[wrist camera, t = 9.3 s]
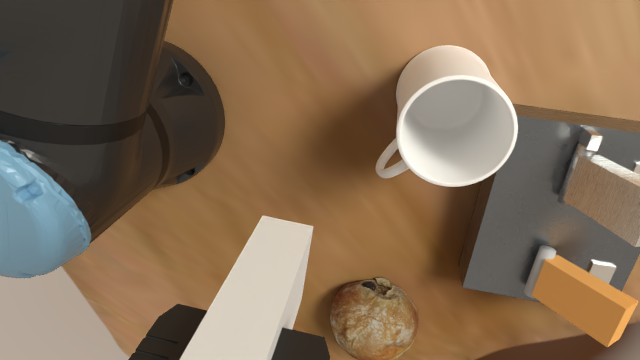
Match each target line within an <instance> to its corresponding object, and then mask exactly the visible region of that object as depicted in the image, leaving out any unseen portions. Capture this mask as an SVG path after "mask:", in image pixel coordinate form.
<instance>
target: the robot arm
mask: <svg viewBox="0 0 640 360" xmlns="http://www.w3.org/2000/svg"><path fill="white" fill-rule="evenodd" d="M172 4H173V0H0V275H1V276H6V277H12V278H31V277H34V276H36V275H44V274H47V273H49V272H52V271H53V270H55V269H57V268H58V267H60V266H61V265H63V264H64V263H66V262H67V261H69V260H71V259H72V258H74V257H75V256H77V255H79V254H81V253H82V252H83V251H85V250H86V249H87V247H89V244H90V243H91V242H92V241H93V240H95V239H96V238H97V237H98V236H99V235H100V234H102V233H103V232H104V231H105V230H106V229H107V228H109V227H110V226H111V225H112V224H113V223H114V222H116V221H117V220H118V219H119V218H120V217H121V216H122V215H124V214H125V213H126V212H127V211H128V210H129V209H131V208H132V207H133V206H134V205H135V204H136V203H138V202H139V201H140V200H141V199H142V198H143V197H144V196H146V195H147V194H148V193H149V192H150V191H151V190H153V189H157V188H162V187H166V186H170V185H175V184H178V183H181V182H184V181H186V180H188V179H190V178H192V177H194V176H195V175H197V174H198V173H199V172H200V171H201V170H202V169H203V168H204V167H205V166H207V165H208V164H209V163H210V162H211V160H212V159H213V158H214V157H215V155H216V154H217V152H218V150H219V148H220V145H221V143H222V139H223V135H224V128H225V117H224V109H223V105H222V101H221V98H220V95H219V92H218V90H217V88H216V86H215V84H214V82H213V80H212V79H211V77H210V76H209V74H208V73H207V72H206V70H205V69H204V68H203V67H202V66H201V65H200V64H199V63H198V61H196V60H195V59H194V58H193V57H192V56H191V55H189V54H188V53H187V52H185V51H184V50H182V49H181V48H179V47H177V46H175V45H173V44H171V43H168V42H165V41H164V38H165V34H166V30H167V25H168V21H169V17H170V13H171V8H172ZM312 232H313V226H309V225H305V224H300V223H295V222H291V221H286V220H281V219H277V218H272V217H268V216H262V218H261V219H260V221H259V223H258V225H257V226H256V228H255V230H254V232H253V233H252V235H251V237H250V238H249V240H248V242H247V244H246V245H245V247H244V249H243V251H242V252H241V254H240V256H239V258H238V259H237V261H236V263H235V264H234V266H233V268H232V270H231V271H230V273H229V275H228V277H227V278H226V280H225V282H224V284H223V285H222V287H221V289H220V290H219V292H218V294H217V296H216V297H215V299H214V301H213V303H212V304H211V306H210V308H209V309H208V311H206V310H202V309H198V308H193V307H189V306H185V305H181V304H177V305H175V306H174V307H173V308H171V309H170V310H168V311H167V312H165V313H164V314H162V315H161V316H159V317H158V319H157V320H156V322H155V323H154V324H153V326H152V327H151V329H150V330H149V332H148V333H147V334H146V337H145V338H144V339H143V340H142V341H141V343H140V344H139V346H138V347H137V348H136V351H135V353H133V354H132V355H131V357H130V358H129V360H329V359H330V355H329V352H328V348H327V345H326V341H325V338H324V337H321V336H317V335H312V334H308V333H304V332H300V331H296V330H292V328H293V325H294V322H295V319H296V315H297V312H298V309H299V306H300V303H301V299H302V293H303V287H304V281H305V274H306V268H307V262H308V256H309V250H310V244H311V238H312Z"/></svg>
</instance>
